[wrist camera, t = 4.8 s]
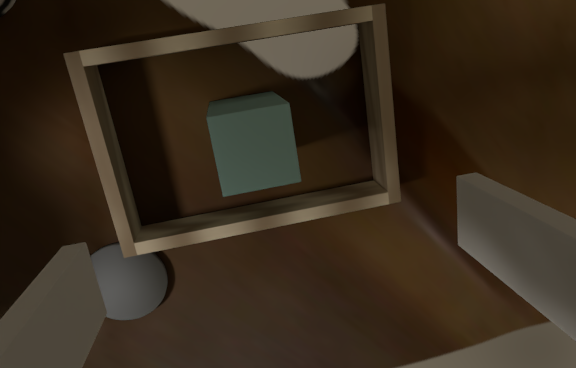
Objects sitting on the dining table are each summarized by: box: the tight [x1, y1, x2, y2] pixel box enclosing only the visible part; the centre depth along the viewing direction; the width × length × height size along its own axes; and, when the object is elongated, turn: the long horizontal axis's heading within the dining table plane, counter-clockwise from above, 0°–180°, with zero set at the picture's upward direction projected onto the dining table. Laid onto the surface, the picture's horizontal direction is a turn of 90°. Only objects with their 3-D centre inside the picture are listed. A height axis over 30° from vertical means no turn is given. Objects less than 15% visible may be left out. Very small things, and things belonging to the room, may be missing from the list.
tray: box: [63, 3, 401, 258], centre depth 34 cm, size 22×15×4 cm
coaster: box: [90, 243, 168, 320], centre depth 37 cm, size 7×7×1 cm
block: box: [206, 91, 301, 197], centre depth 31 cm, size 5×5×9 cm
